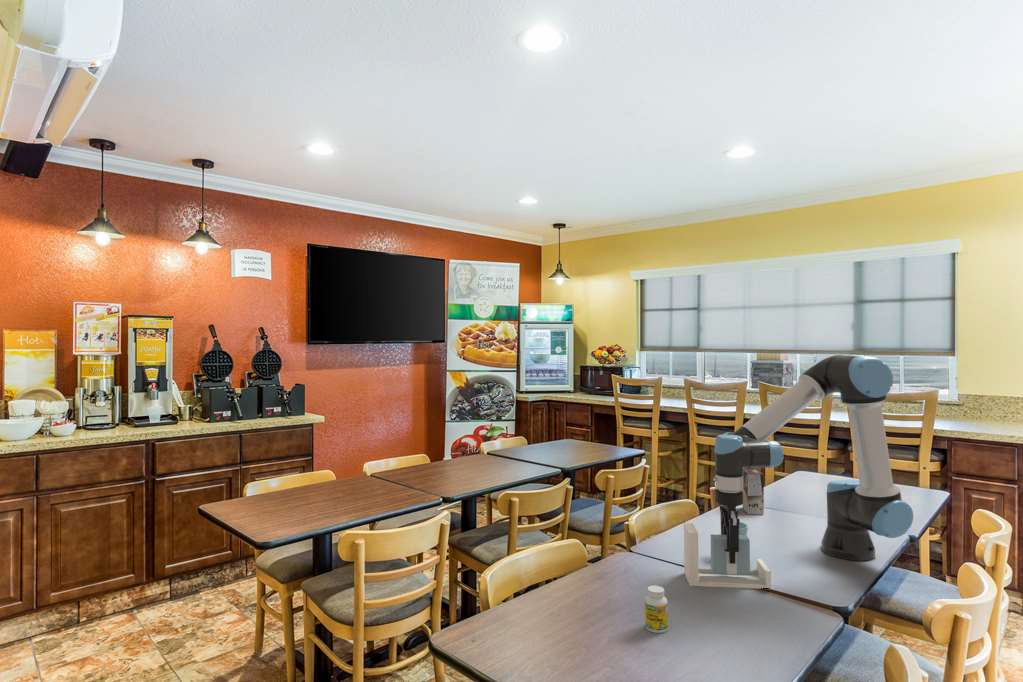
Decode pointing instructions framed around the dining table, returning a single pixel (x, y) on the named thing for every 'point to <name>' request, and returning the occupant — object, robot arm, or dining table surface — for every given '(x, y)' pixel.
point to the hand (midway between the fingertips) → (729, 570)
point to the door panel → (720, 555)
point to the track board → (710, 579)
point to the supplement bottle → (656, 610)
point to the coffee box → (753, 491)
